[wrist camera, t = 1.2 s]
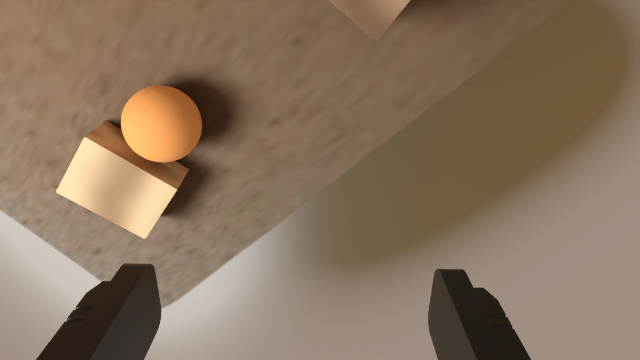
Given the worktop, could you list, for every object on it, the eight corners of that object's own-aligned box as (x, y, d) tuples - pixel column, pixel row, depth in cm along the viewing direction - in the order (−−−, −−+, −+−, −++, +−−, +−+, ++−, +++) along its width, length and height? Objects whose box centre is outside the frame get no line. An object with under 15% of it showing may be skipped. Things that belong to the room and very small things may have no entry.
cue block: (79, 171, 40) (55, 192, 36) (106, 119, 38) (84, 136, 34) (159, 215, 42) (144, 239, 38) (189, 169, 40) (177, 189, 36)
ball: (124, 117, 37) (93, 144, 32) (160, 62, 35) (132, 80, 30) (185, 158, 39) (165, 189, 34) (222, 107, 37) (207, 132, 32)
